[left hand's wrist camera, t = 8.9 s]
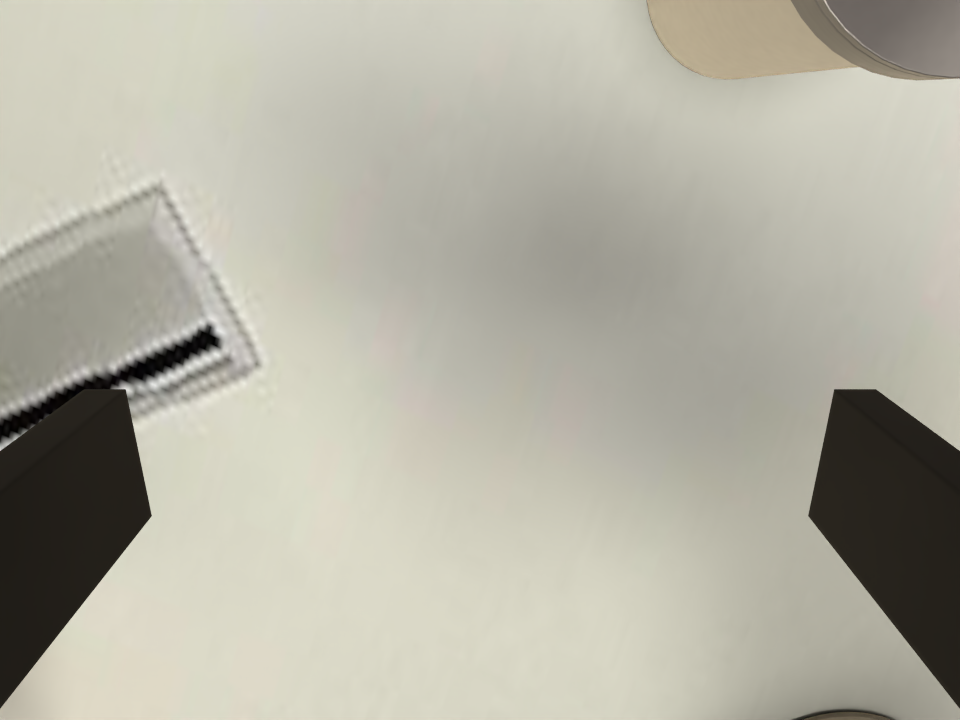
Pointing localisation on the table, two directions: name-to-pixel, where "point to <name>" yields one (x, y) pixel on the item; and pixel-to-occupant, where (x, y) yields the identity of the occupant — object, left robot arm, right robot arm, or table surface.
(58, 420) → the left robot arm
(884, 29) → the lid
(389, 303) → the table surface
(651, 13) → the jar
